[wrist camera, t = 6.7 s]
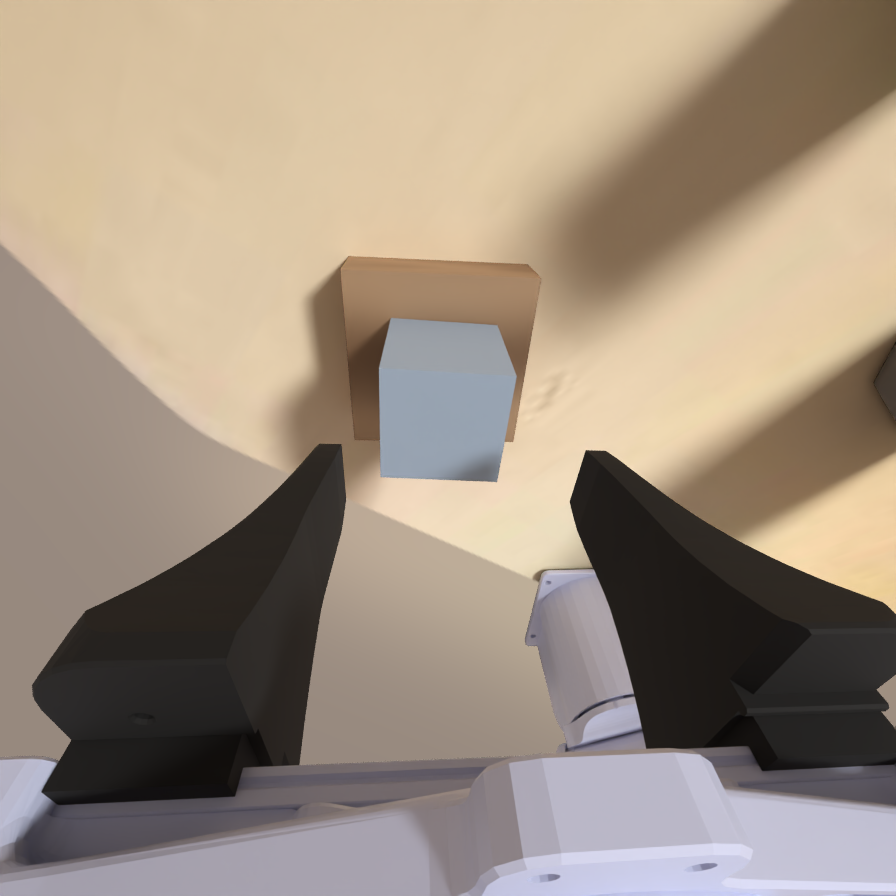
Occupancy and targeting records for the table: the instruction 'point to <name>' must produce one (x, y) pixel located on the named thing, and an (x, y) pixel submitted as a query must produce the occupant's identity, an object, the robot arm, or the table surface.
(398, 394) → the blue block
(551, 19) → the table surface
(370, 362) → the walnut block
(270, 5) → the table surface
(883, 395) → the liquor
